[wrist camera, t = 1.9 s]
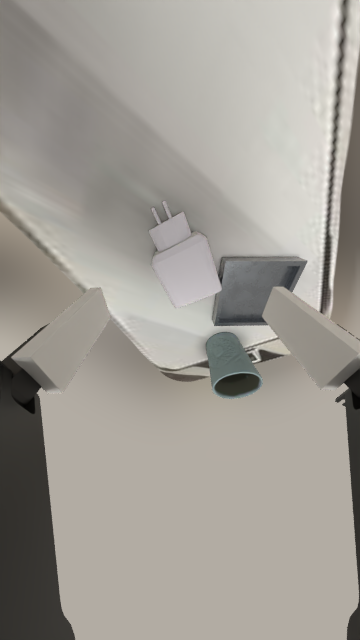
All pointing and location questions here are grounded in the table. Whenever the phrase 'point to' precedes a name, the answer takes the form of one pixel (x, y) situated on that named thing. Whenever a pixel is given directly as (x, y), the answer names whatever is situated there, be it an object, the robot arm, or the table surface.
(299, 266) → the gray square tray
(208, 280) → the charger
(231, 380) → the green cup
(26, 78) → the table surface
